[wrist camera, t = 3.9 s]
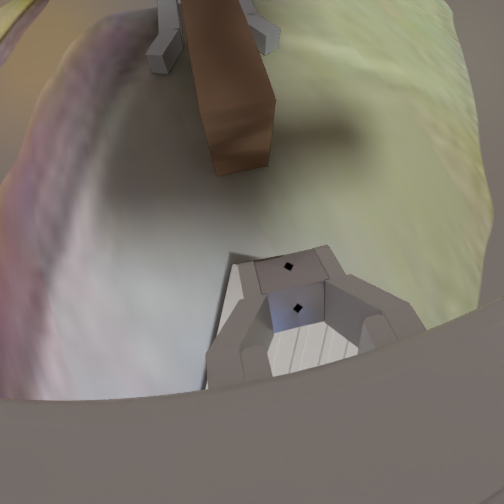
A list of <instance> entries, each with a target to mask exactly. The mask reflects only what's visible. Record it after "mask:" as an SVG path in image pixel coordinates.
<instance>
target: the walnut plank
mask: <svg viewBox="0 0 504 504" xmlns="http://www.w3.org/2000/svg"><path fill="white" fill-rule="evenodd" d="M181 5H182V12H183V18H184V24H185V30H186V37H187V43H188V49H189V54H190V60H191V66H192V72H193V78H194V83H195V89H196V95H197V100H198V106H199V111H200V116H201V119H202V123H203V127H204V131H205V134H206V138H207V142H208V145H209V149H210V153H211V156H212V160H213V164H214V167H215V171H216V175H217V177H218V176H222V175H227V174H232V173H236V172H241V171H246V170H251V169H256V168H261V167H266V166H268V161H269V153H270V145H271V137H272V129H273V120H274V112H275V104H276V99H275V96H274V93H273V90H272V87H271V84H270V81H269V78H268V76H267V73H266V70H265V67H264V64H263V62H262V59H261V56H260V54H259V51H258V48H257V45H256V43H255V40H254V38H253V35H252V32H251V30H250V27H249V25H248V22H247V20H246V17H245V15H244V12H243V10H242V7H241V5H240V2H239V0H181Z"/></svg>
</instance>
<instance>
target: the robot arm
mask: <svg viewBox="0 0 504 504" xmlns="http://www.w3.org/2000/svg"><path fill="white" fill-rule="evenodd" d="M238 270H239V275H240V281H241V286H242V292H243V297H244V299H240V300H239V301H238V303H237V304H236V306H235V308H234V309H233V311H232V312H231V314H230V316H229V317H228V319H227V321H226V322H225V324H224V325H223V327H222V329H221V330H220V332H219V334H218V335H217V337H216V338H215V340H214V342H213V343H212V345H211V346H210V348H209V350H208V351H207V353H206V365H207V380H208V389H205V390H199V391H192V392H184V393H176V394H168V395H159V396H149V397H138V398H124V399H108V400H79V401H48V400H20V399H5V398H0V504H504V296H503V297H501V298H499V299H497V300H495V301H493V302H491V303H489V304H487V305H484V306H482V307H480V308H478V309H476V310H474V311H471V312H469V313H467V314H465V315H462V316H460V317H458V318H456V319H453V320H451V321H449V322H446V323H444V324H441V325H439V326H436V327H434V328H431V329H429V330H426V328H425V327H424V325H423V324H422V322H421V320H420V319H419V317H418V316H417V314H416V313H415V311H414V310H413V308H412V306H411V305H410V303H408V302H406V301H404V300H402V299H400V298H398V297H396V296H394V295H392V294H390V293H388V292H386V291H384V290H382V289H380V288H378V287H376V286H374V285H372V284H370V283H367V282H365V281H363V280H361V279H359V278H357V277H355V276H353V275H351V274H349V275H346V274H345V272H344V270H343V269H342V267H341V265H340V264H339V262H338V260H337V259H336V257H335V255H334V254H333V252H332V250H331V249H330V247H329V246H328V245H323V246H319V247H315V248H312V249H309V250H304V251H300V252H295V253H291V254H286V255H281V256H276V257H271V258H265V259H260V260H255V261H254V262H253V261H251V262H246V263H241V264H238ZM323 321H324V322H325V323H326V324H327V325H329V326H330V327H331V328H332V329H334V330H335V331H336V332H338V333H339V334H340V335H342V336H343V337H344V338H346V339H347V340H348V341H350V342H351V343H352V344H354V345H355V346H356V347H358V353H357V355H355V356H351V357H348V358H345V359H341V360H338V361H334V362H331V363H327V364H323V365H320V366H316V367H312V368H308V369H304V370H300V371H296V372H292V373H288V374H284V375H279V376H275V377H273V375H272V371H271V367H270V363H269V359H268V354H267V352H268V350H269V347H270V345H271V342H272V340H273V337H274V333H278V332H282V331H286V330H289V329H293V328H297V327H301V326H306V325H310V324H315V323H319V322H323Z"/></svg>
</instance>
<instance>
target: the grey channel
mask: <svg viewBox="0 0 504 504" xmlns="http://www.w3.org/2000/svg"><path fill="white" fill-rule="evenodd" d="M239 2H240V5H241V7H242V10H243V12H244V15H245V17H246V20H247V22H248V25H249V27H250V30H251V32H252V35H253V38H254V40H255V43H256V45H257V48H258V51H260V52H261V53H262V54H264V55H267V54H269V53H271V52H273V51H274V50H276V49H278V48H279V39H280V28H278V27H277V26H275V25H274V24H272V23H271V22H269V21H267V20H266V19H264V18H263V17H261V16H259V15H258V13H257V11H256V9H255V7H254V5H253V2H252V0H239ZM157 7H158V26H159V34H158V36H157V37H156V38H155V40H154V41H153V43H152V44H151V46H150V47H149V49H148V50H147V52H146V53H145V57H146V59H147V61H148V64H149V66H150V69H151V71H152V73H161V74H169V72H170V70H171V69H172V67H173V65H174V63H175V62H176V60H177V58H178V56H179V55H180V53H181V51H182V50H183V46H184V42H183V36H182V29H181V22H180V15H179V8H178V2H177V0H157Z"/></svg>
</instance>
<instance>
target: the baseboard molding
mask: <svg viewBox="0 0 504 504" xmlns="http://www.w3.org/2000/svg"><path fill="white" fill-rule="evenodd" d="M240 299H244V297H243V292H242V286H241V281H240V275H239V270H238V265H235V264H233V265H232V269H231V273H230V278H229V282H228V287H227V291H226V296H225V300H224V305H223V309H222V314H221V319H220V323H219V328H218V332H217V335H218V334H219V332H220V330H221V329H222V327H223V325H224V324H225V322H226V321H227V319H228V317H229V316H230V314H231V312H232V311H233V309H234V308H235V306H236V304H237V303H238V301H239V300H240ZM357 353H358V347H356V346H355V345H354V344H352V343H351V342H350V341H348V340H347V339H346V338H344V337H343V336H342V335H340V334H339V333H338V332H336V331H335V330H334V329H332V328H331V327H330V326H329V325H327V324H326V323H325V322H324V321H323V322H319V323H315V324H310V325H306V326H301V327H297V328H293V329H289V330H286V331H282V332H278V333H274V337H273V340H272V342H271V345H270V347H269V350H268V352H267V354H268V359H269V363H270V367H271V371H272V375H273V377H275V376H279V375H284V374H288V373H292V372H296V371H300V370H304V369H308V368H312V367H316V366H320V365H323V364H327V363H331V362H334V361H338V360H341V359H345V358H348V357H351V356H355V355H357ZM206 389H208V380H207V384H206Z"/></svg>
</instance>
